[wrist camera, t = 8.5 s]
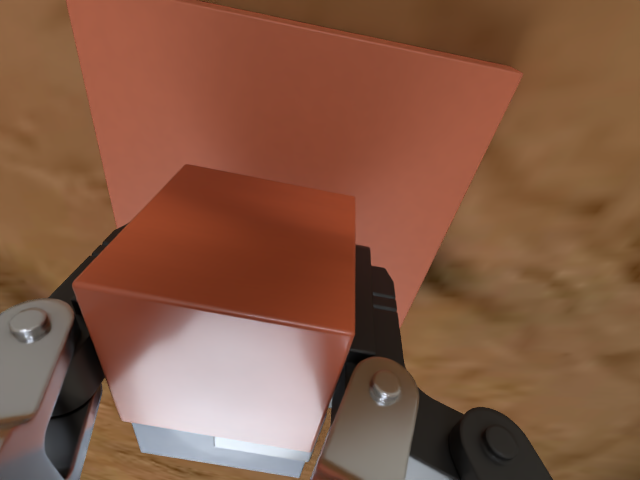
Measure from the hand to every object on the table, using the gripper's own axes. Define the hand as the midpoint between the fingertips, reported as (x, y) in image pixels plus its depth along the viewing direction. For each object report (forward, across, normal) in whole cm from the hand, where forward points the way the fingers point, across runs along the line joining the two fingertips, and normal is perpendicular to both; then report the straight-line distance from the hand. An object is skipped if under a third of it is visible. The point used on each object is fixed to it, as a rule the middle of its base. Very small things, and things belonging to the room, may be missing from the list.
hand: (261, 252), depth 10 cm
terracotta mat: (+4, 0, 0) cm, 4 cm away
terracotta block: (0, 0, 0) cm, 0 cm away
